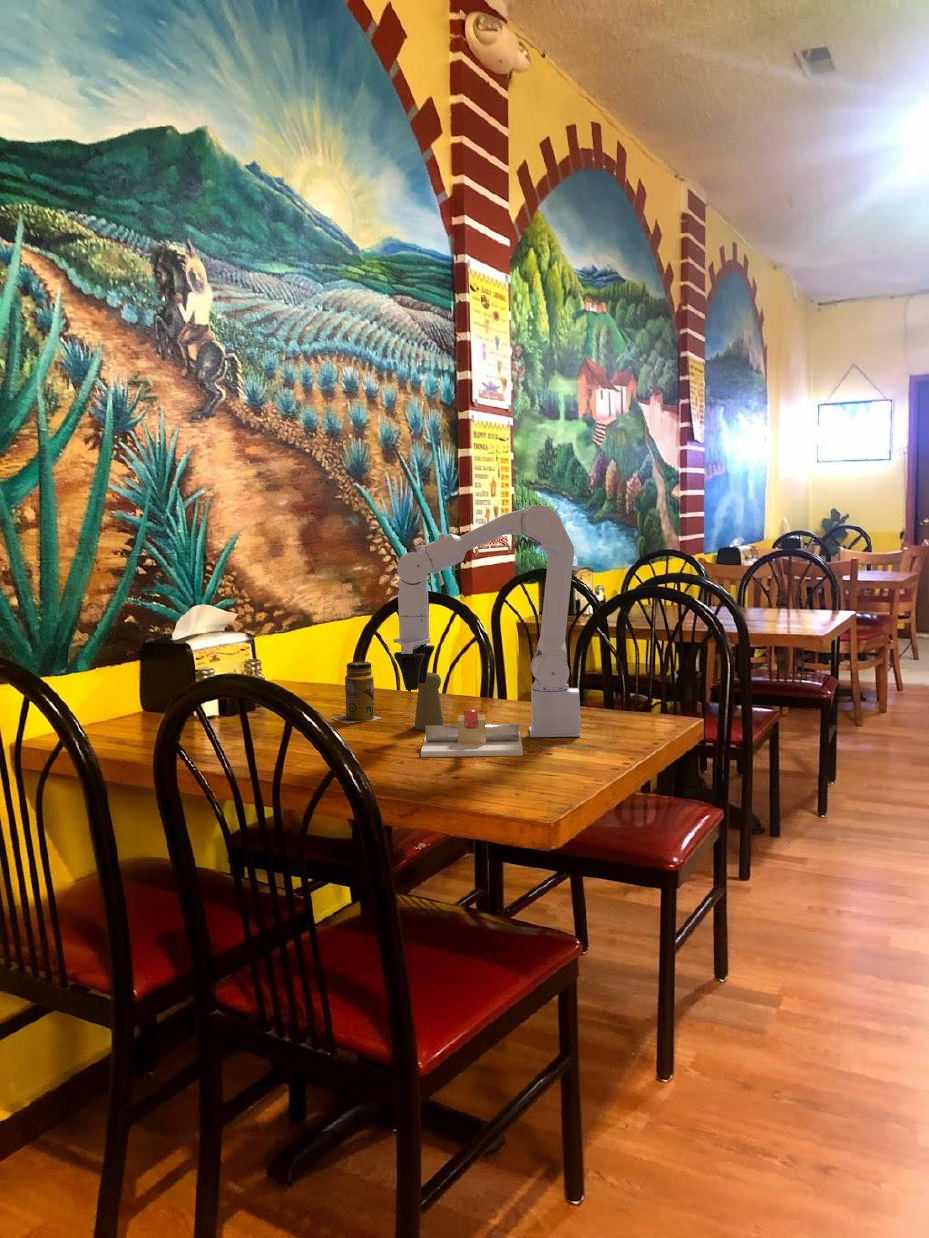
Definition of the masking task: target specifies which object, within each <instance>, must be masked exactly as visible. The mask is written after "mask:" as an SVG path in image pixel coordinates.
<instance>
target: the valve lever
mask: <svg viewBox="0 0 929 1238" xmlns="http://www.w3.org/2000/svg"><path fill="white" fill-rule="evenodd" d="M463 715H464V728H466V729H475V728H478V715H479V711H478V709H476V708H470V709H469V708H467V709H464V710H463Z"/></svg>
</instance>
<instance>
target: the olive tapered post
mask: <svg viewBox="0 0 929 1238" xmlns="http://www.w3.org/2000/svg"><path fill="white" fill-rule="evenodd" d="M441 684H442V678H441V676H440V675H439V674H438V673H436V672H427V678H426V682H425V683H418V688H417V697H416V699H417V700H416V709H415V719H414V727H413V728H415V729H417V730H422V731H426V726H431V725H445V723H444V717H443V711H442V704H441V697H440V696H441V695H440V690H439V688H440V687H441Z"/></svg>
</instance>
